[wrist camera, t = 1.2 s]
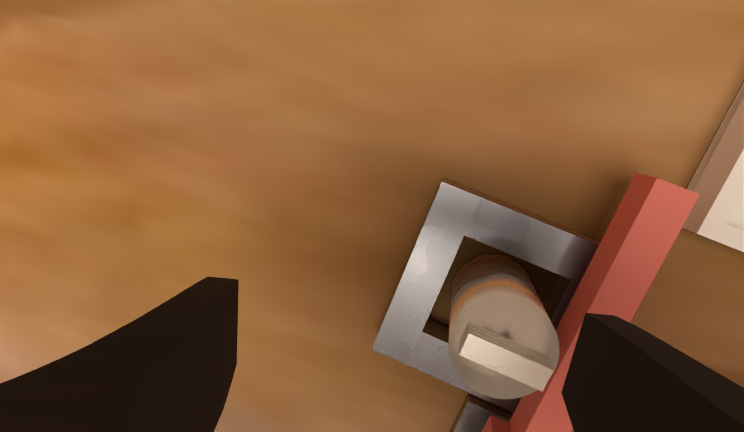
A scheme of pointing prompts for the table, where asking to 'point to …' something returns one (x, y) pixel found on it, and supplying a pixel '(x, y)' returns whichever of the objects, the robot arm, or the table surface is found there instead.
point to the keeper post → (477, 415)
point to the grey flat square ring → (435, 256)
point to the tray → (722, 183)
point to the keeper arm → (608, 288)
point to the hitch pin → (500, 329)
